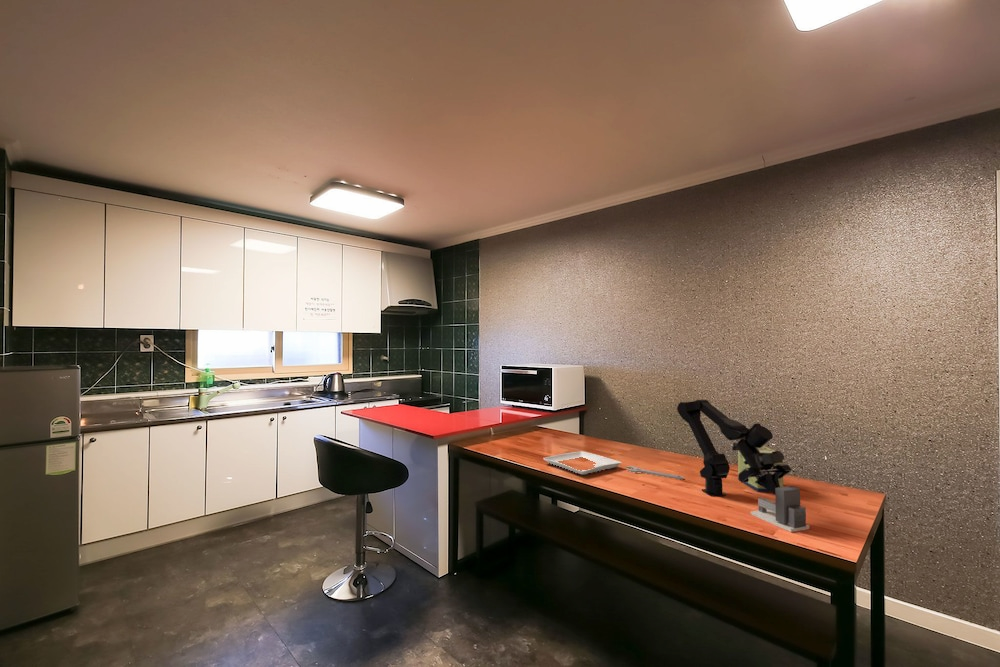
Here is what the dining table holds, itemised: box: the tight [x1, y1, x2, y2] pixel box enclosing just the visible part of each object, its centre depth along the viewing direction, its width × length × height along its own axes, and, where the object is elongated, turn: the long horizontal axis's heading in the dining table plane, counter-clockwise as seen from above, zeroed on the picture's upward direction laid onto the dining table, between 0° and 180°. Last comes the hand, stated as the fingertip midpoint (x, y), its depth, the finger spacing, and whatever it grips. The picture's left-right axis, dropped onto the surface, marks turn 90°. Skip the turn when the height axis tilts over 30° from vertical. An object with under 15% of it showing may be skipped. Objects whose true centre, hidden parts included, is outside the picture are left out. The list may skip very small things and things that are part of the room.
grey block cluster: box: [757, 497, 807, 528], centre depth 140 cm, size 14×5×6 cm, turn 17°
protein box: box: [737, 445, 784, 493], centre depth 176 cm, size 10×16×16 cm
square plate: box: [542, 450, 623, 475], centre depth 202 cm, size 27×27×4 cm
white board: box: [750, 509, 810, 533], centre depth 140 cm, size 14×8×1 cm, turn 17°
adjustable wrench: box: [625, 465, 684, 481], centre depth 190 cm, size 25×6×2 cm, turn 52°
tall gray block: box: [774, 485, 801, 524], centre depth 137 cm, size 3×7×11 cm, turn 107°
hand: (781, 496), depth 139 cm, fingers closed
